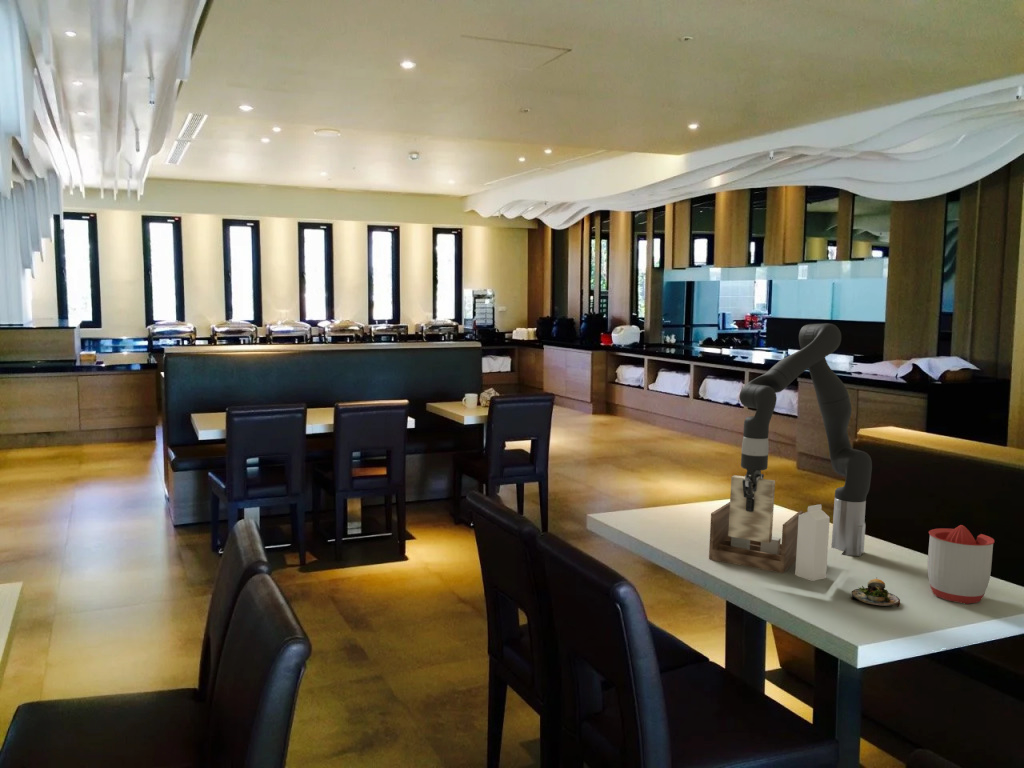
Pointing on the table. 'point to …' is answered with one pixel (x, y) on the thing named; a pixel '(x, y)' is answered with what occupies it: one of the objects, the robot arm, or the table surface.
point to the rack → (751, 545)
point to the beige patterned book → (754, 522)
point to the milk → (812, 544)
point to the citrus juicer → (959, 564)
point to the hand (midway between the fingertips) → (751, 509)
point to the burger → (875, 594)
